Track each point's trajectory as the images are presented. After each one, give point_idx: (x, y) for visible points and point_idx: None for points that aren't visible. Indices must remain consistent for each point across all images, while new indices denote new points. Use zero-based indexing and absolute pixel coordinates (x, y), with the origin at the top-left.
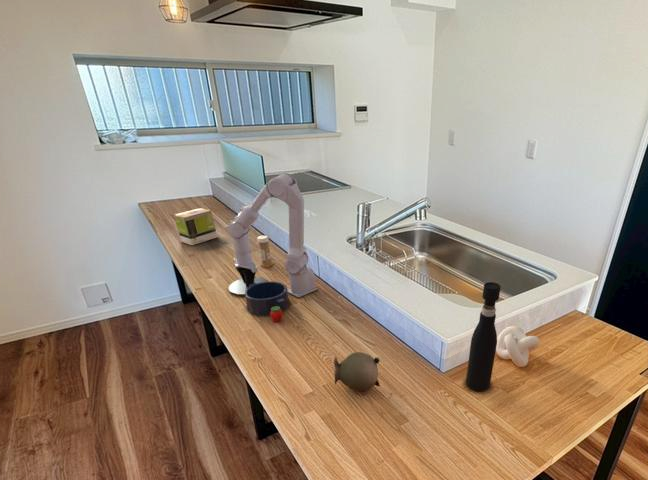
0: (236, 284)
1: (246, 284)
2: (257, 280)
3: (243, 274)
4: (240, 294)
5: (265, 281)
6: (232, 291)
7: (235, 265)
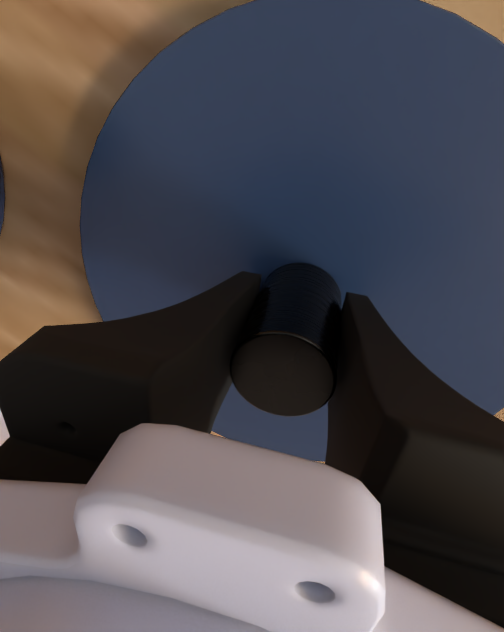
0: (482, 230)
1: (292, 274)
2: (319, 411)
3: (353, 382)
4: (168, 45)
5: (234, 421)
6: (348, 15)
7: (228, 513)
